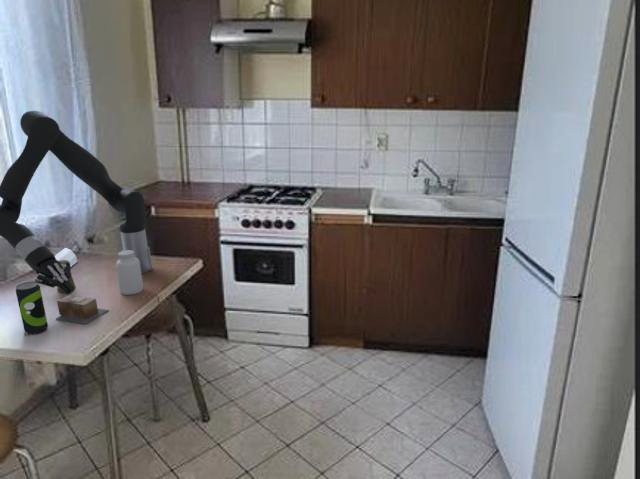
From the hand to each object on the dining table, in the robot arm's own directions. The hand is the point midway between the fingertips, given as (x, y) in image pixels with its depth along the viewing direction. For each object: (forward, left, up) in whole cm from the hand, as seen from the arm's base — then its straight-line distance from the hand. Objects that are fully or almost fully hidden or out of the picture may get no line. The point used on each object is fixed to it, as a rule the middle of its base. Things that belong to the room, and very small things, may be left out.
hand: (71, 292), depth 153 cm
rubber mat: (-1, +2, -8) cm, 8 cm away
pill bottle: (-21, -6, -8) cm, 23 cm away
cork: (-4, -25, -8) cm, 27 cm away
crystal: (-7, -48, -8) cm, 50 cm away
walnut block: (+2, -3, -5) cm, 6 cm away
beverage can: (+12, +4, -8) cm, 15 cm away
